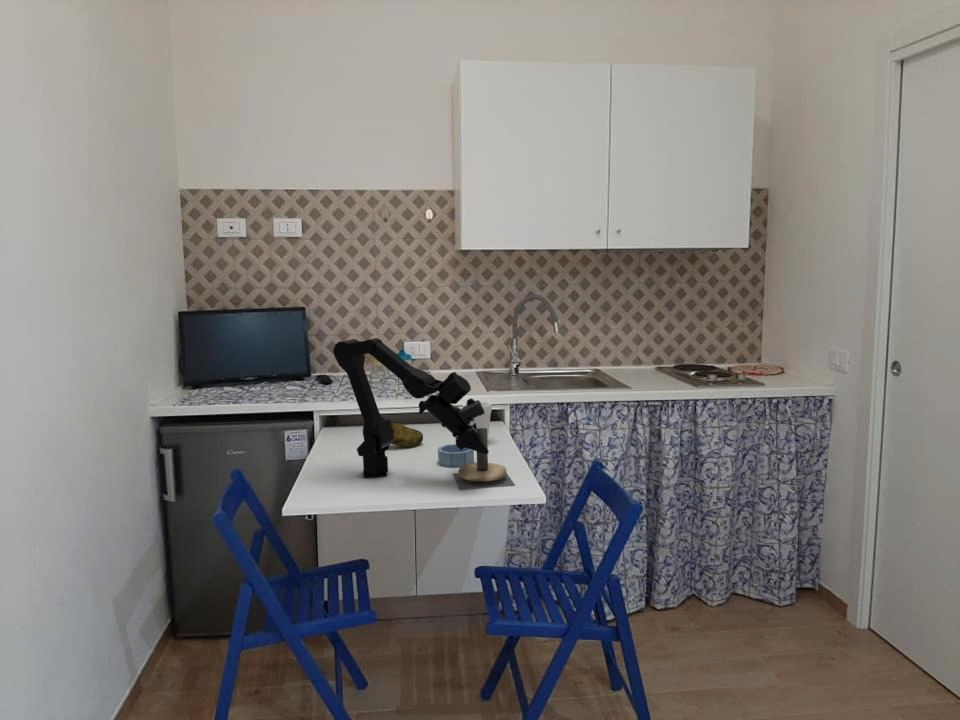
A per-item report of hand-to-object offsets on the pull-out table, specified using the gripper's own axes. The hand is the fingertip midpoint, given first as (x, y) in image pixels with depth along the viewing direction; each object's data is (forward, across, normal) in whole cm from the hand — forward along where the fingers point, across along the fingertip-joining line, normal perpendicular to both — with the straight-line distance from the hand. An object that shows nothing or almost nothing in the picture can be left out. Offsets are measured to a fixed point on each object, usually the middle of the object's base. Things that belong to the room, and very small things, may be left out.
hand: (487, 451), depth 200 cm
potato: (-11, +39, +23) cm, 47 cm away
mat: (+5, 0, +7) cm, 8 cm away
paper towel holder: (+4, 0, +5) cm, 6 cm away
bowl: (0, +17, +12) cm, 21 cm away
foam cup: (+6, +39, +6) cm, 40 cm away
